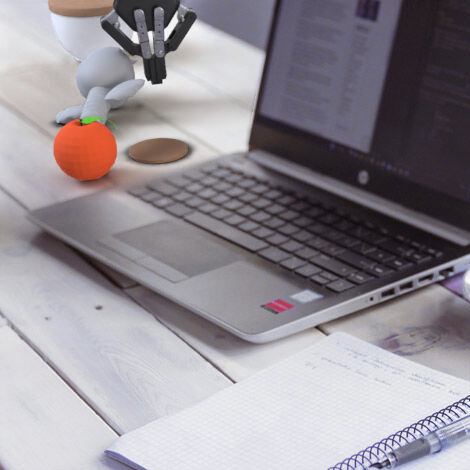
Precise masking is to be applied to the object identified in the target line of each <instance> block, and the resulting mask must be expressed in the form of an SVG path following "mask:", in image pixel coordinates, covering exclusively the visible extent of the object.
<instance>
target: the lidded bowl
mask: <svg viewBox="0 0 470 470" xmlns="http://www.w3.org/2000/svg"><path fill="white" fill-rule="evenodd" d="M113 2H114V0H47V6H48V7H47V8H48V10H49V13H50V19H51V24H52V27H53V32H54V34H55V37H56V39H57V41H58V42H59V44H60V45H61V47H62V48H63V49H64V50H65V51H66V52H67V53H69V54H70V55H71V56H73V57H74V60H75V61H76V62H80V63H81V62H82V61H83V60H84V59H85V58H86V57H88V56H89V55H90V54H92V53H93V52H95V51H97V50H99V49H101V48H104V47H109V46H113V47H118V48H120V49H122V50H123V51H124V52H125V50H124V49H123V48H122V47H121V46H120V45H119V44H118V43H117V42H116V41H115V40H114V39H113V38H112V37H111V36H110V35H109V34H108V33H106V32H105V31H104V30H103V29H102V27H101V24H100V19H101V17H103V16H107V15H108V14H109V13H110V12H111V11H112V10H113V9H114V8H113ZM118 20H119V22H120V28H119V29H120V30H121V31H122V32H123V33H124V34H125V35H127V36H128V37H129V38H130V39H131V40H132V39H133V36H134V31H133V30H132V29H131V28H130V27H129V26H128V25H127V24H126V23H125V22H124V21H123V20H122V19H121V18H120V17H118Z"/></svg>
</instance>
